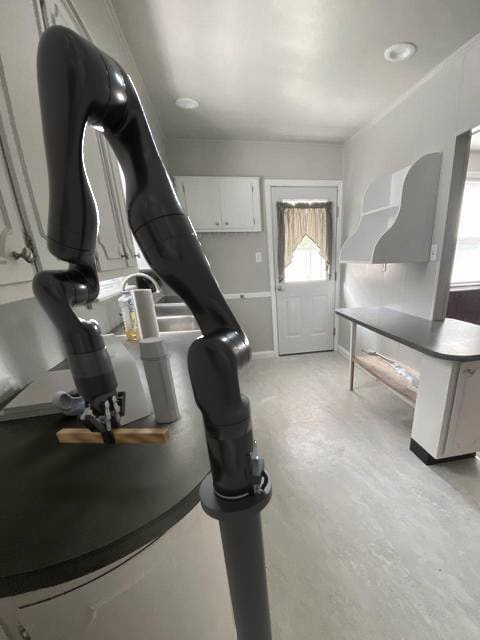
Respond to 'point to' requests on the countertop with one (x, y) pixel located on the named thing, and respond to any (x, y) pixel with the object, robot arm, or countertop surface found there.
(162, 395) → the water bottle
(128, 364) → the milk
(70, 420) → the countertop surface
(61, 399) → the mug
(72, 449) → the countertop surface
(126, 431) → the stick
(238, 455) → the robot arm
